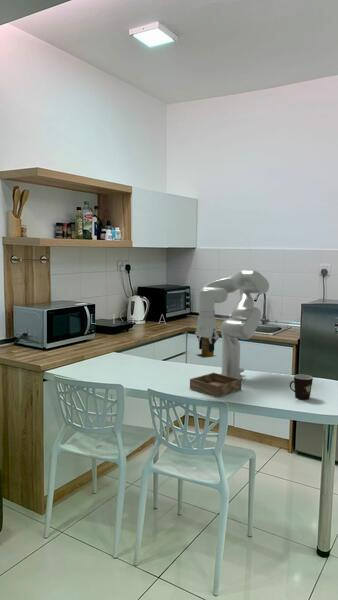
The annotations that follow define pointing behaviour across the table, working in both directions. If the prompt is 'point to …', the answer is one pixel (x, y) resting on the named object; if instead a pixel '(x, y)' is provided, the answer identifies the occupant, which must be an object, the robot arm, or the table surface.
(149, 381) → the table surface
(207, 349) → the condiment
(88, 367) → the table surface
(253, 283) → the robot arm
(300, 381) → the coffee mug
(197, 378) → the crate
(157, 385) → the table surface
